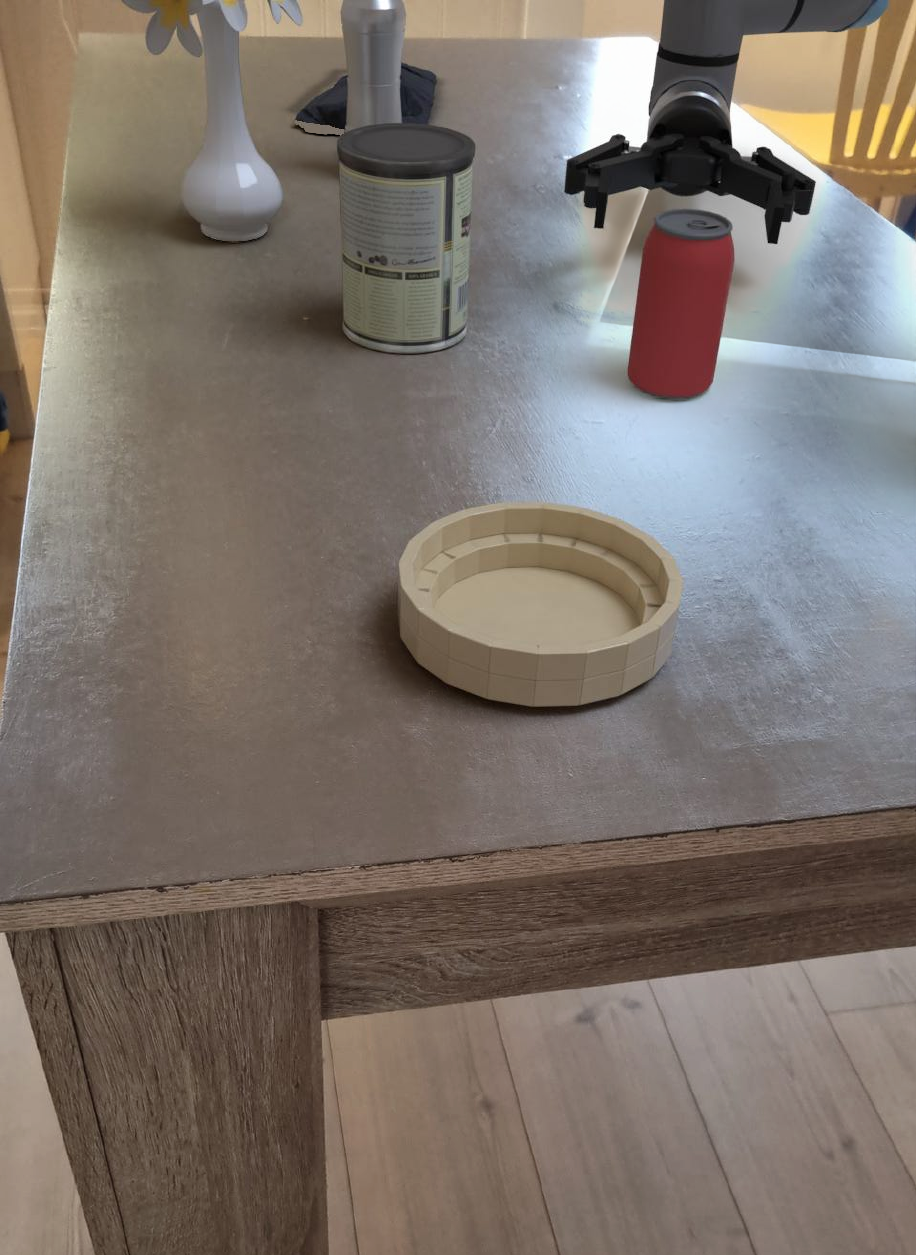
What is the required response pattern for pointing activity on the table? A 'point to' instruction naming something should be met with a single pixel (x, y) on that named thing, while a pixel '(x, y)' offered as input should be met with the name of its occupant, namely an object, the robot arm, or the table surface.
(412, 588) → the bowl
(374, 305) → the coffee can
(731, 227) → the beer can
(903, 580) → the table surface
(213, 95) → the flower vase
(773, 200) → the robot arm
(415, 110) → the dark blue folded cloth
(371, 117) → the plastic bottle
